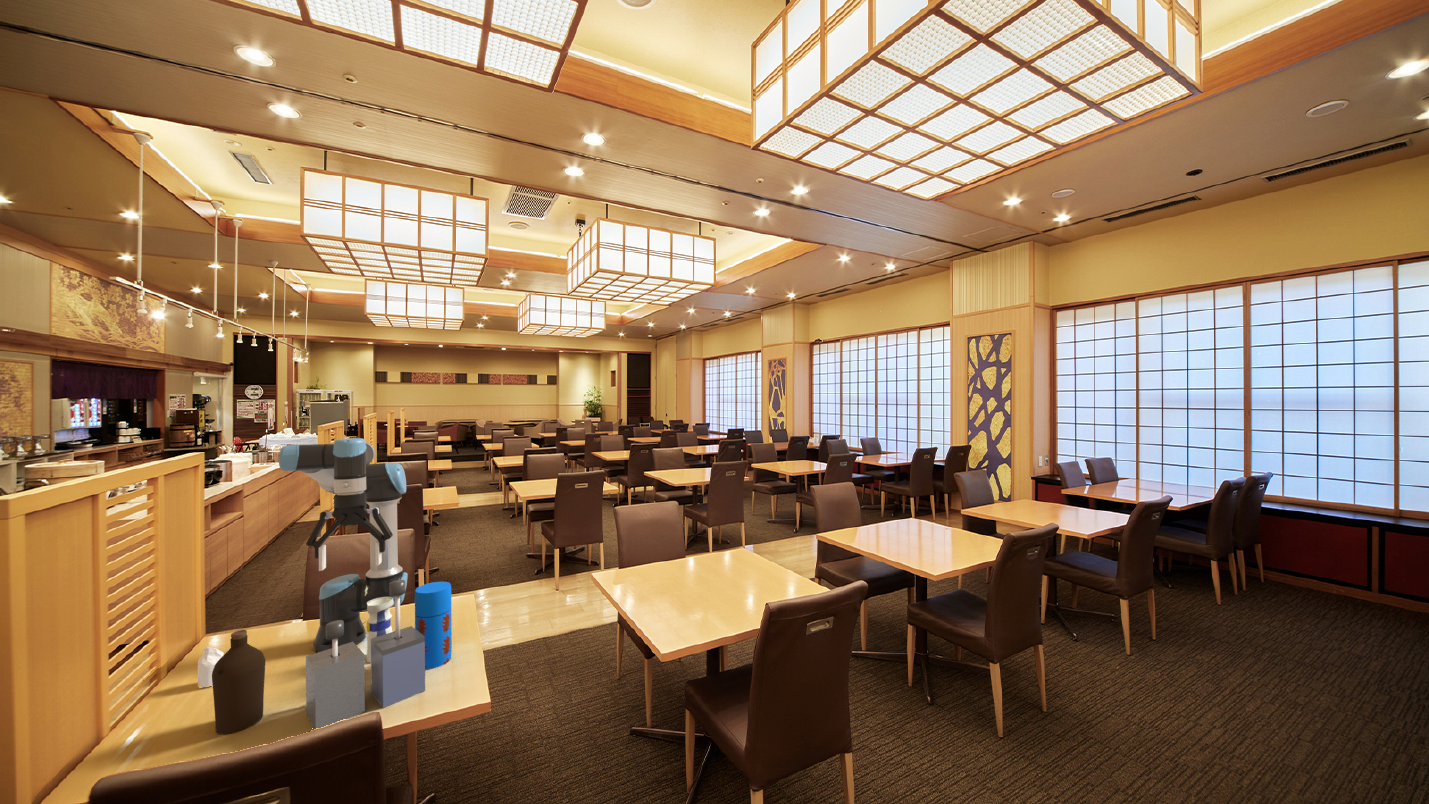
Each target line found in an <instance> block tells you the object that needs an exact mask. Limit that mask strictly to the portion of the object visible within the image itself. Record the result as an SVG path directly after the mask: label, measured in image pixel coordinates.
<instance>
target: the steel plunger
mask: <svg viewBox="0 0 1429 804" xmlns="http://www.w3.org/2000/svg"><path fill="white" fill-rule="evenodd" d="M343 635H344V621H343V620H336V621H332V622H329V623H327V624H326V639H332V658H333V657H336V656H338V638H339V637H341V636H343Z"/></svg>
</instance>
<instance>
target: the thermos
mask: <svg viewBox="0 0 1429 804" xmlns="http://www.w3.org/2000/svg"><path fill="white" fill-rule="evenodd" d="M452 621H453V620H452V584H451V583H450V582H448V581H433V582H429V583H425V584H422V585H420V586H418V587H416V588H415V591H414V628H415V629H416V630H417V631H418V632H420V633H421V634H422V635H423V636H425V670H432V669H436V668H439V667H442V666H444V665H446V664H447V663H449V662H450V661H451V659H452V649H453V642H452V641H453V640H452V638H453V636H452V633H453V631H452V630H453V629H452V624H453V623H452Z"/></svg>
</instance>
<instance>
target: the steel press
mask: <svg viewBox="0 0 1429 804" xmlns="http://www.w3.org/2000/svg"><path fill="white" fill-rule="evenodd" d="M305 695H306V696H305V698H306V699H305V706H306V707H305V708H306V710H305V711H306V712H305V713H306V714H305V715H306V717H307V719H308V721H309V723H310V724H311V726H312V728H313V730H314V729H316V728H321V727H324V726H326V725H330V724H332V723H335V722H337V721H340V720H343V719H346V720H348V719H350V718H354V717H355V716H358V715H361V714H363V713H365V710H366V709H365V708H366V707H365V706H366V703H365V698H366V697H365V695H366V694H365V652H363V651H362V650H361V649H360V648H359V646H357V645H355V643H354V642H350V643H347V644H344V645H341V646H338V656H336V657H333V658H332V648H331V649H328V650H325V651H322V652H317V653H316V652H315V653H313V654H310V655H309V654H308V655H306V656H305Z"/></svg>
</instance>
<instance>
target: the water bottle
mask: <svg viewBox="0 0 1429 804" xmlns="http://www.w3.org/2000/svg"><path fill="white" fill-rule="evenodd" d="M367 589H368V587H367V586H366V589H365V595H366V594H367ZM393 604H394V601H393V598H392V597H381V598H376V599H373V600H370V601H368V602H367V605H368V606H367V610H366V612H367V613H368V615H369V616H368V619H367V621H366V631H367V639H366V640H367V644H366V645H367V647H366V662H368V663H370V664H371V639H372V638H375V637H378V636H381V635H384V634H388V633H391V632H393V628H392V625H391V624H392V623H391V619H392V617H393V614H392V613H391V608H392V607H393V606H392V605H393ZM391 606H392V607H391Z"/></svg>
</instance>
